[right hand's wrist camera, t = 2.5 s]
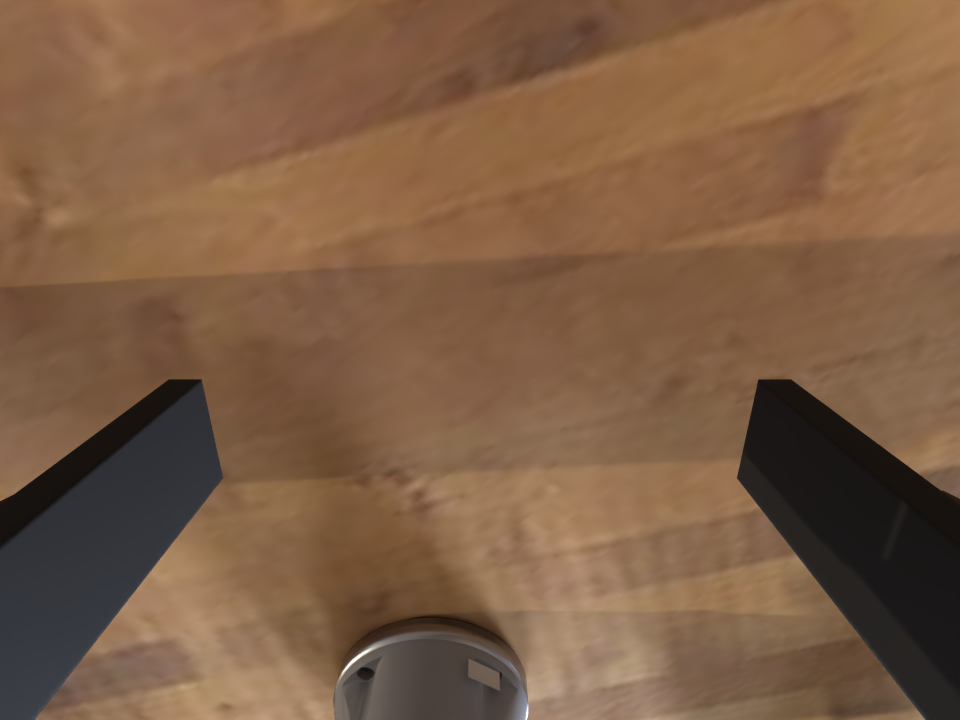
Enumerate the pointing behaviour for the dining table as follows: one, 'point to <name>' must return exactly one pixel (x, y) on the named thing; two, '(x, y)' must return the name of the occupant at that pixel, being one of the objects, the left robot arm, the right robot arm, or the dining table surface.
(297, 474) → the dining table surface
